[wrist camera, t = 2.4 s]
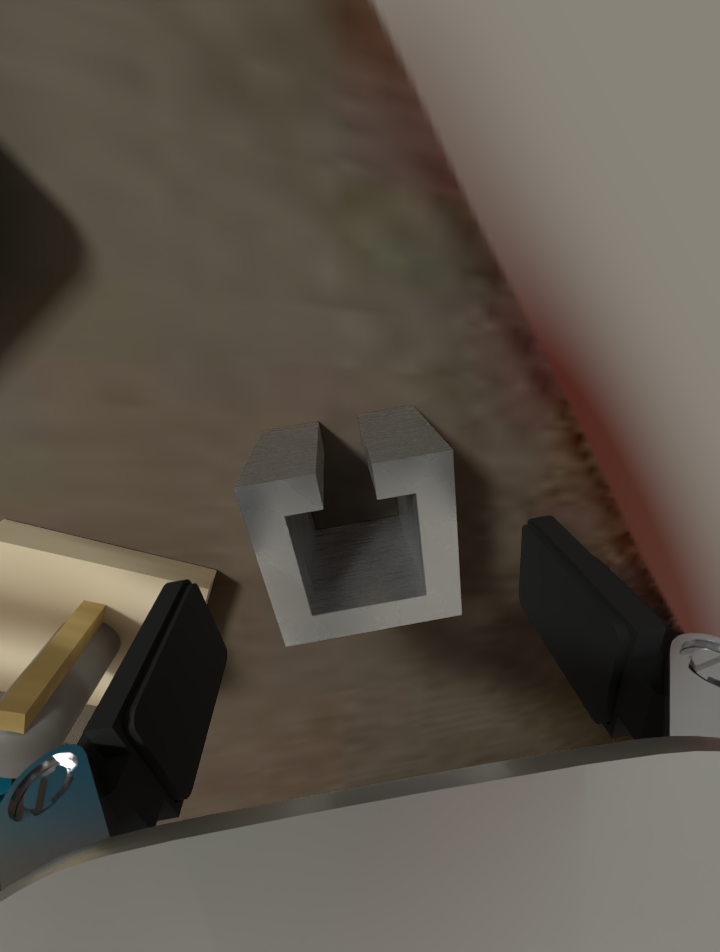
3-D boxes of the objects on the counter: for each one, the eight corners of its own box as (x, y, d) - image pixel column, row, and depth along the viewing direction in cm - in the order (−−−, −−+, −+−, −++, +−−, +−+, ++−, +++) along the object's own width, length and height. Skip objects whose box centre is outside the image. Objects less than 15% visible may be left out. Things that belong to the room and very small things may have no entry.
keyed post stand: (180, 693, 24) (127, 835, 17) (-1, 663, 21) (-138, 813, 15) (216, 570, 20) (166, 691, 14) (4, 519, 18) (-172, 635, 12)
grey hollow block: (425, 531, 20) (461, 614, 15) (296, 555, 20) (285, 646, 15) (413, 404, 17) (452, 449, 12) (262, 431, 17) (233, 488, 12)
